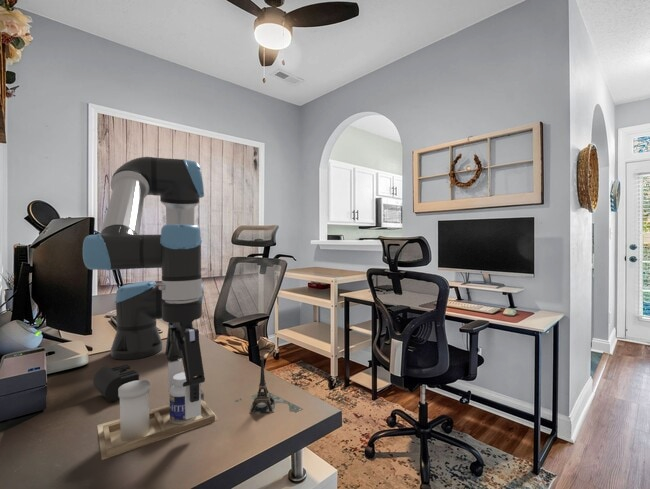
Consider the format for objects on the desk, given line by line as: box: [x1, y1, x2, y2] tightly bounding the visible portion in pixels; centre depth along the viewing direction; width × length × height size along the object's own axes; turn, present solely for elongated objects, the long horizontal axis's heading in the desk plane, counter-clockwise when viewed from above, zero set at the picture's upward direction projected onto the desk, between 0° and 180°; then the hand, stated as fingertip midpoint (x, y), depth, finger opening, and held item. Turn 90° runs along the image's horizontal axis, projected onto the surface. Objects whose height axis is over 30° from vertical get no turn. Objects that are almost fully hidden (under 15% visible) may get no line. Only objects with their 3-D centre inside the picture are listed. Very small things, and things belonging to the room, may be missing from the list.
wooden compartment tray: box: [96, 390, 220, 461], centre depth 67 cm, size 13×20×3 cm, turn 127°
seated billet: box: [118, 379, 151, 442], centre depth 63 cm, size 5×5×9 cm
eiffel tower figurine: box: [234, 354, 303, 415], centre depth 75 cm, size 15×10×13 cm
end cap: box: [92, 364, 140, 404], centre depth 80 cm, size 10×7×7 cm
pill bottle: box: [169, 371, 197, 424], centre depth 68 cm, size 5×5×9 cm
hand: (183, 402), depth 68 cm, fingers open, 13 cm apart
